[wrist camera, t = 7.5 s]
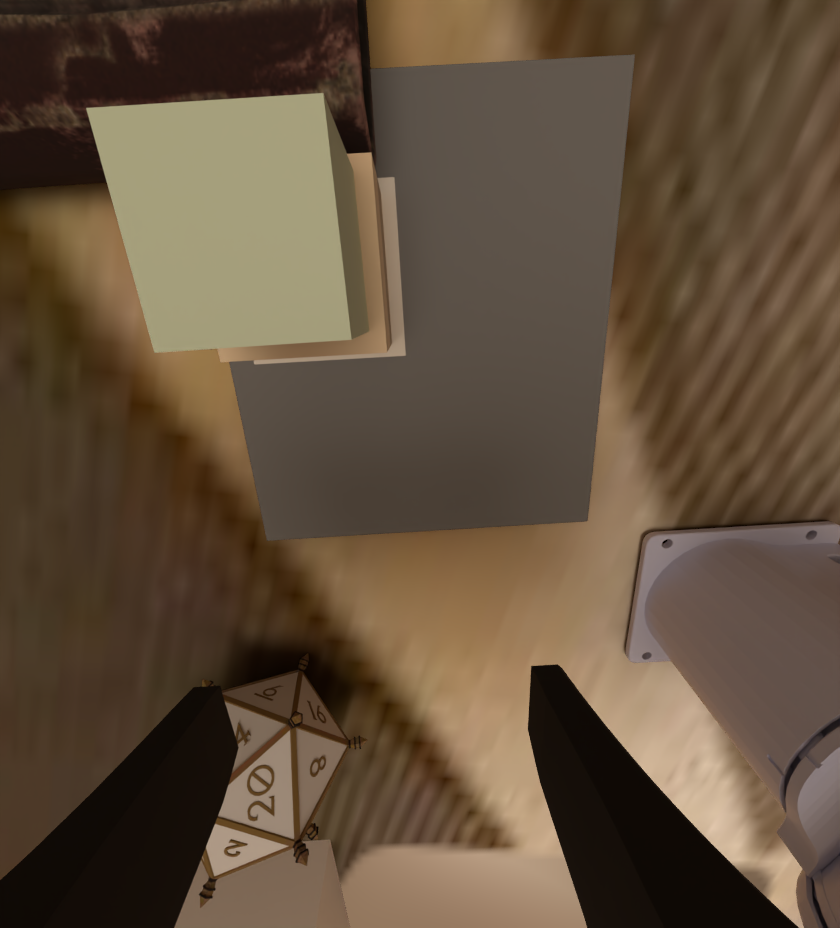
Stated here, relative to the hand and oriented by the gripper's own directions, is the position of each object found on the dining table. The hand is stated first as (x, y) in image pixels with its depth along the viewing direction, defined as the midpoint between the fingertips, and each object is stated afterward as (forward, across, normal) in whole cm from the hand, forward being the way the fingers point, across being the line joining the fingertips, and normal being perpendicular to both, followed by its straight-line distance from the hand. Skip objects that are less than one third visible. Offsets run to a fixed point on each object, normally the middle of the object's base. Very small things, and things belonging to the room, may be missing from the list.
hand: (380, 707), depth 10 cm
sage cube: (+6, +2, -10) cm, 12 cm away
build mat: (+10, -2, -8) cm, 13 cm away
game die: (+11, +7, +11) cm, 17 cm away
